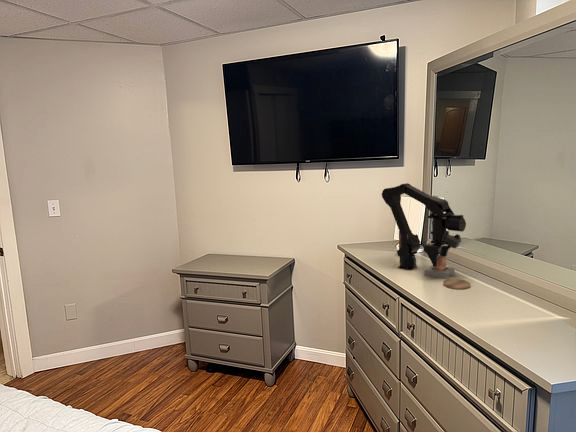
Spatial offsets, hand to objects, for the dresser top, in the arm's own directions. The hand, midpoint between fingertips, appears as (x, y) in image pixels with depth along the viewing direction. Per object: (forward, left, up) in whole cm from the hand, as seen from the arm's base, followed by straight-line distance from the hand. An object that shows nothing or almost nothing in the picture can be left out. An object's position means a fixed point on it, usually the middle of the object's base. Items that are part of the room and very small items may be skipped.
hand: (439, 263), depth 169 cm
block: (0, 0, -5) cm, 5 cm away
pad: (+11, -10, -5) cm, 16 cm away
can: (-26, +20, -5) cm, 33 cm away
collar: (0, 0, -5) cm, 5 cm away
